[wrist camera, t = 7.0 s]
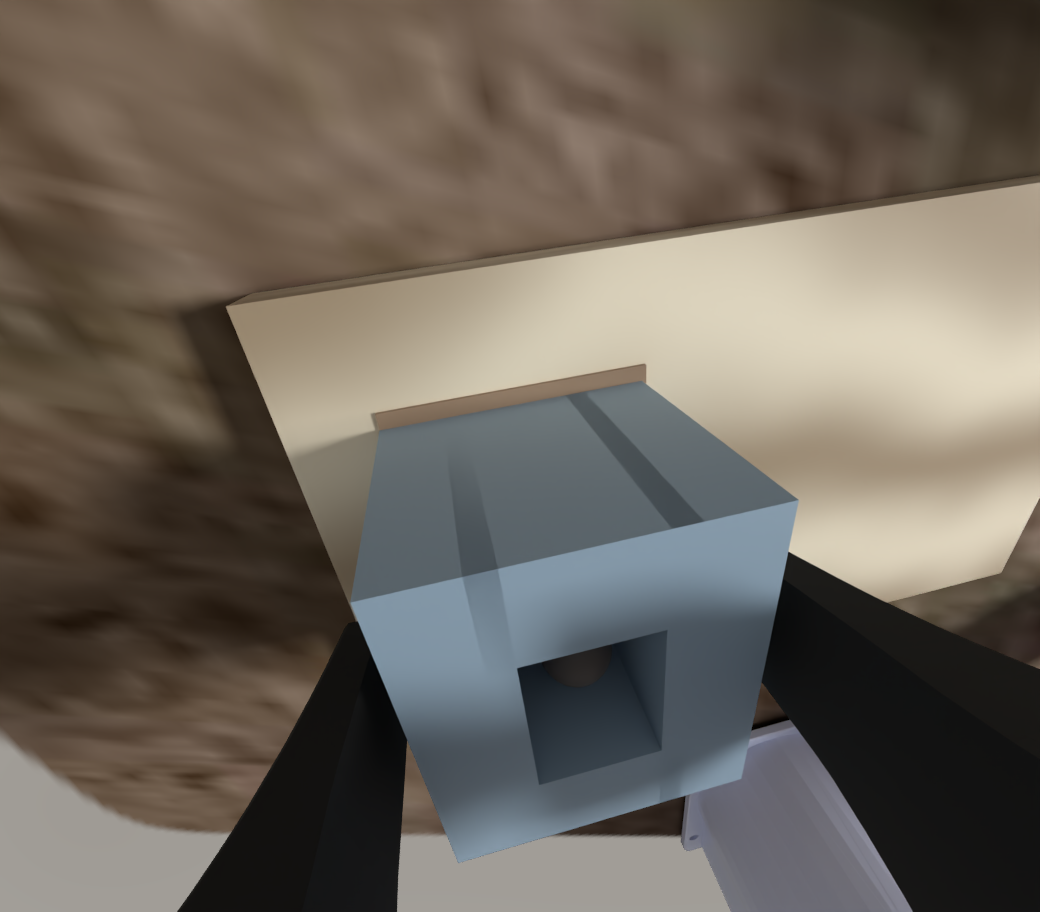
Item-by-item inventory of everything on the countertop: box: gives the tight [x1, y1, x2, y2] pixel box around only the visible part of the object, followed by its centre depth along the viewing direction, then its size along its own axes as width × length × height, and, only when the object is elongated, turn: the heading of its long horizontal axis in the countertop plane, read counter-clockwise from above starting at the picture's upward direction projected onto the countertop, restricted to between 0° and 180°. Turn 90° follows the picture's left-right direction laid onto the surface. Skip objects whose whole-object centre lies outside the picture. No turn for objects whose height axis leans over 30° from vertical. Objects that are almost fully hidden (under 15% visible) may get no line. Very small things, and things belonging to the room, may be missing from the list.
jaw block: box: [350, 381, 799, 863], centre depth 10 cm, size 7×6×5 cm
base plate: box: [226, 175, 1040, 687], centre depth 12 cm, size 13×22×6 cm, turn 97°
